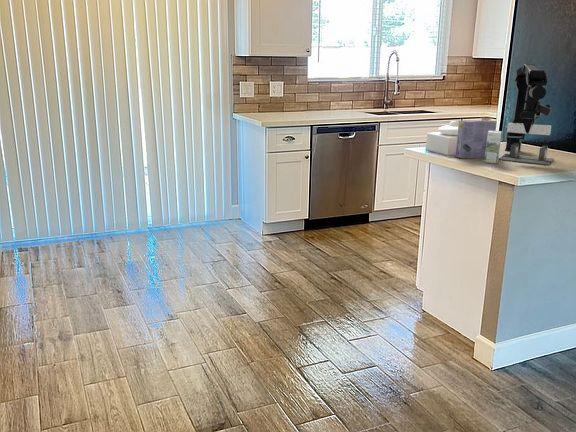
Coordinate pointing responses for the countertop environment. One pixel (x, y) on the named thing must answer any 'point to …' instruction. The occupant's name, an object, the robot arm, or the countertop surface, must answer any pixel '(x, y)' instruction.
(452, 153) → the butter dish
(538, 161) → the mat
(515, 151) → the hook posts
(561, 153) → the countertop surface
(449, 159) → the countertop surface
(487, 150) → the syrup box
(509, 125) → the steel bar
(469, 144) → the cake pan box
